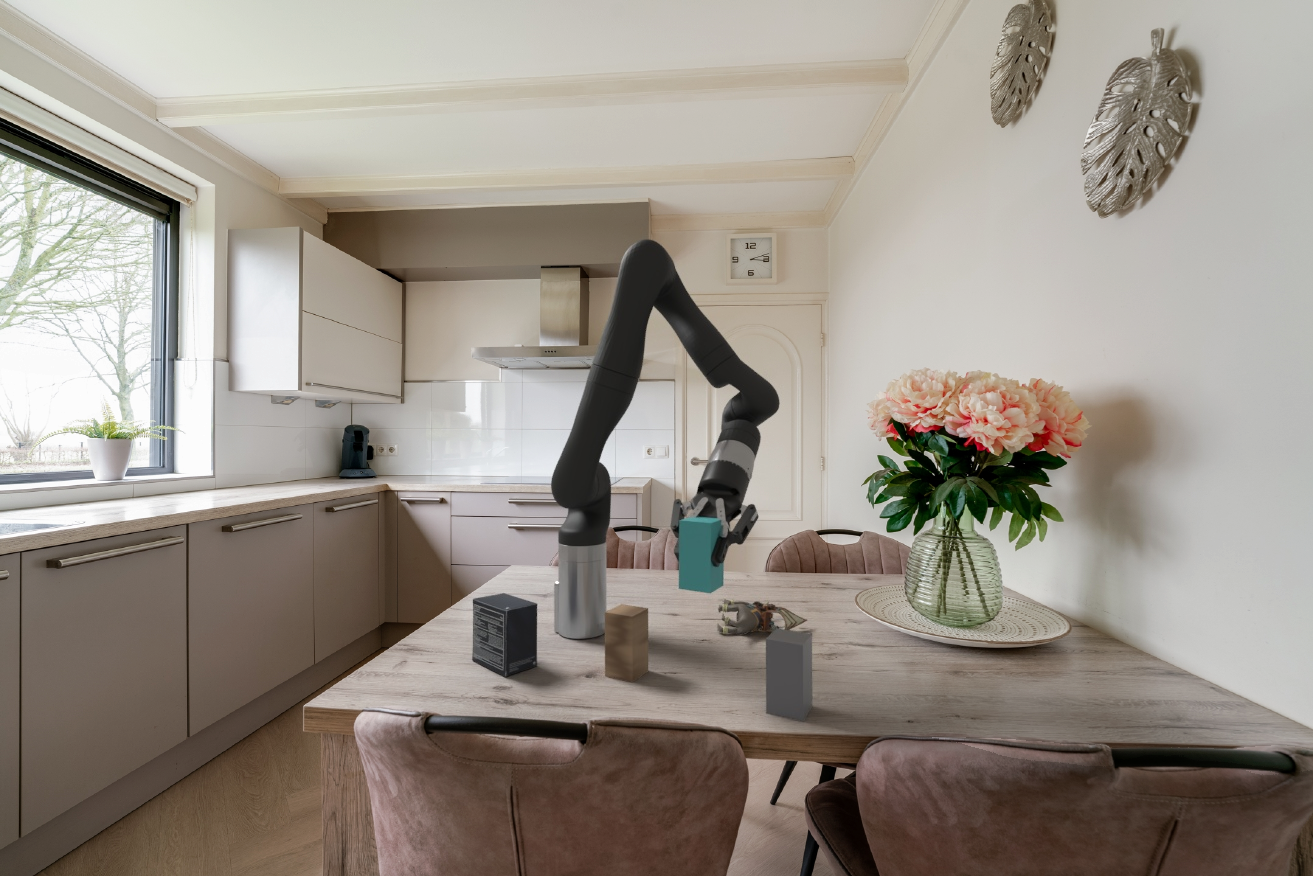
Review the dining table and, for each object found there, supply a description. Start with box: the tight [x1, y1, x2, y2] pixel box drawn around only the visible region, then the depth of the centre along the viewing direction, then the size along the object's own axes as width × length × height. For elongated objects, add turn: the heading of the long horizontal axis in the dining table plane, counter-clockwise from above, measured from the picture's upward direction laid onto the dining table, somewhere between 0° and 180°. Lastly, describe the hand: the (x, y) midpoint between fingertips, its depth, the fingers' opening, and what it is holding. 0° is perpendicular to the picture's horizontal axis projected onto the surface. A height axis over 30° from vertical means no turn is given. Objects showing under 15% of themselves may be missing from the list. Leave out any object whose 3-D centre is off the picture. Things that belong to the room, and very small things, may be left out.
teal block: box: [678, 517, 725, 594], centre depth 84 cm, size 5×5×10 cm
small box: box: [471, 592, 538, 678], centre depth 95 cm, size 11×6×10 cm, turn 47°
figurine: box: [716, 598, 808, 636], centre depth 111 cm, size 20×6×17 cm
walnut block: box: [604, 603, 649, 683], centre depth 90 cm, size 5×5×10 cm
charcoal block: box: [765, 627, 813, 723], centre depth 78 cm, size 5×5×10 cm
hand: (696, 560), depth 83 cm, fingers closed on teal block, 5 cm apart
